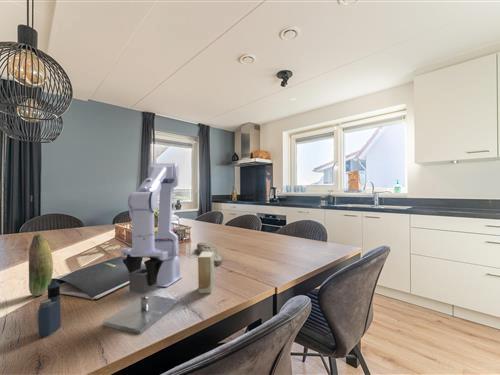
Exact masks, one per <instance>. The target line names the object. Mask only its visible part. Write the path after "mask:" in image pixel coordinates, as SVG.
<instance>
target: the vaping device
mask: <svg viewBox="0 0 500 375" xmlns="http://www.w3.org/2000/svg"><path fill="white" fill-rule="evenodd" d="M60 285H61V284H60V282H57V279H53V280H52V279H51V282H50V284H49V285H48V289H47V298H46V299H43V300H41V301H40V304H39V306H38V310H37V332H38V336H39V338H47V337H50V336H51V335H52V334H53V333H55V332H56V331H57V330H59V329H60V328H61V326H62V322H61V319H62V318H61V316H62V315H61V294H60V293H61V290H60V289H61V286H60Z"/></svg>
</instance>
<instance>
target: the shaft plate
mask: <svg viewBox="0 0 500 375" xmlns="http://www.w3.org/2000/svg"><path fill="white" fill-rule="evenodd" d="M179 304H181V300H180V299H176V298H172V297H163V296H158V295H152V294H145V295H142V296H141V297H140V298H139V299H137V300H136V301H134V302H133V303H131V304H129V305H128V306H126V307H124V308H122V309H121V310H119V311H117V312H116V313H114V314H112V315H111V316H110V317H108V318H106V319H104V320H103V321H102V326H103V327H108V328H113V329H117V330H122V331H124V332H125V331H127V332H130V333H135V334H138V335H141V334H143V333H144V332H145V331H146V330H148V329H149V328H150V327H151V326H153V325H155V323H157V322H158V321H159V320H160V319H162V318H163V317H164V316H165V315H167V314H168V313H169V312H171V311H172V310H173V309H174V308H176V307H177V306H178V305H179Z"/></svg>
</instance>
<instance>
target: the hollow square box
mask: <svg viewBox="0 0 500 375" xmlns="http://www.w3.org/2000/svg"><path fill="white" fill-rule="evenodd" d="M128 274H129V276H128V277H129V280H128V281H129V285H128V286H129V287H128V289H129V292H130V293H136V294H141V295H147V293H149V292H151V291H152V290H154V289H156V288H158V286H157V279H156V283H155V284H154V285H152V286H149V285H148V275H147V269H146V267H145V266H144V267H141V268H140V269H138V270H136V271H134V272H131V273H129V272H128Z"/></svg>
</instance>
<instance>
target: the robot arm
mask: <svg viewBox="0 0 500 375" xmlns="http://www.w3.org/2000/svg"><path fill="white" fill-rule="evenodd" d="M147 171H148V172H147V173H148V177H147V178H145V179H144V180H143V181H142V183H140V186H139V187H138V189H137V190H136V191H133V192H132V193H130V194H129V195H128V198H127V209H128V211H129V218H130V220H131V246H132V247H124V248H120V256H121V257H125V256H126V258H124V259H122V263H123V265H125V267H126V268H127V272H128V274H129V273H131V272H134V271H136V270H138V269H140V268H142V262H143V264H144V267H145V268H146V269H147V275H148V285H149V286H152V285H154V284H155V283H156V279H157V287H163V288H168V287H170V286H171V285H173V284H174V283H176V282H177V281H180V279H182V278H183V276H181V262H180V258H179V257H178V255H179V252H180V244H179V236H178V235H177V234H176V233H175V232H174V231H172V216H173V214H172V212H173V194H174V189H175V188H176V187H178V185H179V181H180V180H179V175H180V171H179V165H178V164H177V163H176V162H174V163H171V162H170V163H167V162H166V163H158V162H156V163H154V162H151V163H150V164H149V165H148V170H147ZM158 198H159V202H158ZM157 208H158V220H157V221H158V222H157V231H156V232H155V212H156V210H157ZM143 258H145V259H147V260H145V261H143Z"/></svg>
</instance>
